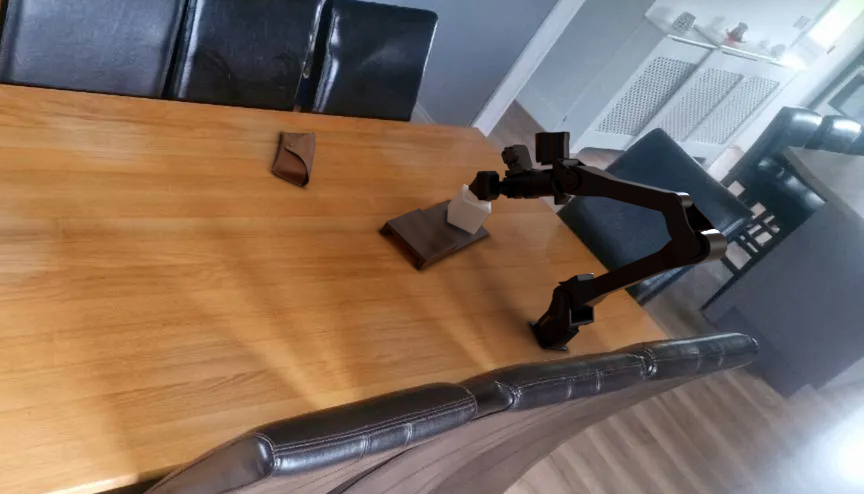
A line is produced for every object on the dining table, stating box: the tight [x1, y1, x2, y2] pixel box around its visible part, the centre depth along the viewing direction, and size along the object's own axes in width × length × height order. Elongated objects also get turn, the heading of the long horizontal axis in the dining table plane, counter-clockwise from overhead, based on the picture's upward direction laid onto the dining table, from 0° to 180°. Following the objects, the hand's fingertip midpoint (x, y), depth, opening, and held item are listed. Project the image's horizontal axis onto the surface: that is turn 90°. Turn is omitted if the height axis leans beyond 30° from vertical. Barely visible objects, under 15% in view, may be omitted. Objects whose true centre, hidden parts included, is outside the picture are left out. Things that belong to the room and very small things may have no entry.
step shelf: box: [379, 199, 490, 270], centre depth 158 cm, size 30×12×3 cm, turn 135°
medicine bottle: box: [447, 175, 493, 234], centre depth 161 cm, size 7×7×12 cm
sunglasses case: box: [271, 131, 317, 187], centre depth 157 cm, size 18×7×7 cm, turn 175°
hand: (478, 187), depth 159 cm, fingers closed on medicine bottle, 6 cm apart
